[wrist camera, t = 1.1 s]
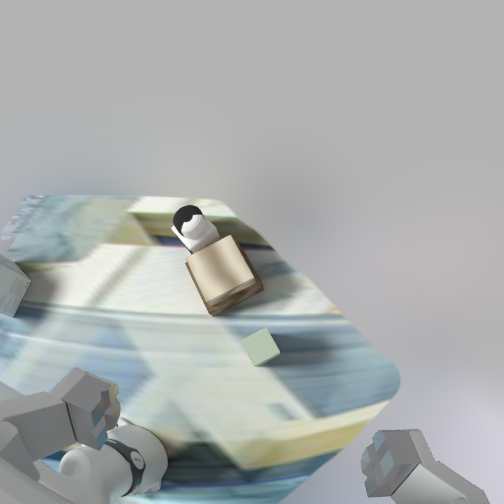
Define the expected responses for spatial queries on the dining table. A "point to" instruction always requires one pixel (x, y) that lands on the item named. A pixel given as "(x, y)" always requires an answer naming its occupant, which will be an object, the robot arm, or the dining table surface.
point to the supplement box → (11, 286)
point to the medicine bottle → (194, 229)
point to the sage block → (260, 347)
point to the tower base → (236, 297)
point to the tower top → (220, 270)
